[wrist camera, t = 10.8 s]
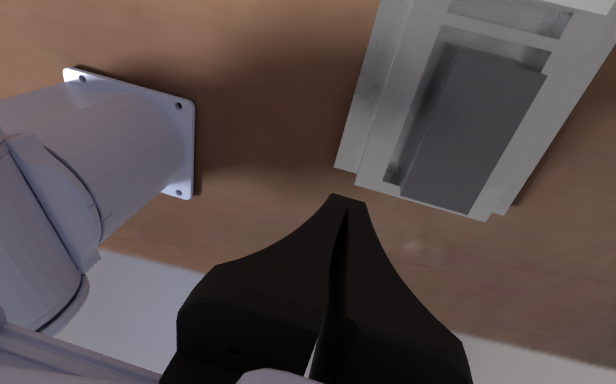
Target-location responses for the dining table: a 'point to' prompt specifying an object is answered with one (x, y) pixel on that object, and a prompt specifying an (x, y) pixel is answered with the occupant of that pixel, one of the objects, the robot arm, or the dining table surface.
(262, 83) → the dining table surface
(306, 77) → the dining table surface
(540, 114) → the slotted base
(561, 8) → the white rectangular block
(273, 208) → the dining table surface
